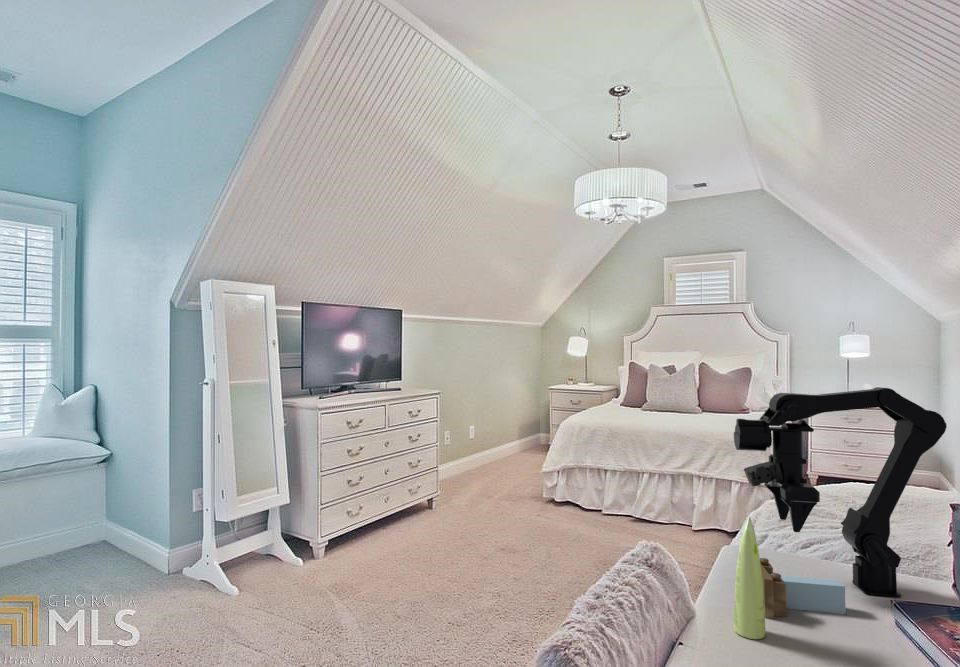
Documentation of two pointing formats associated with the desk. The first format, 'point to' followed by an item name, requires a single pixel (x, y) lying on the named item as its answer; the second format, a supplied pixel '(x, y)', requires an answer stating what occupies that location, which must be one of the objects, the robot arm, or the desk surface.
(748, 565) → the tube
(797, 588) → the light blue rectangular block
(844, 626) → the desk surface
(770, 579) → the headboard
